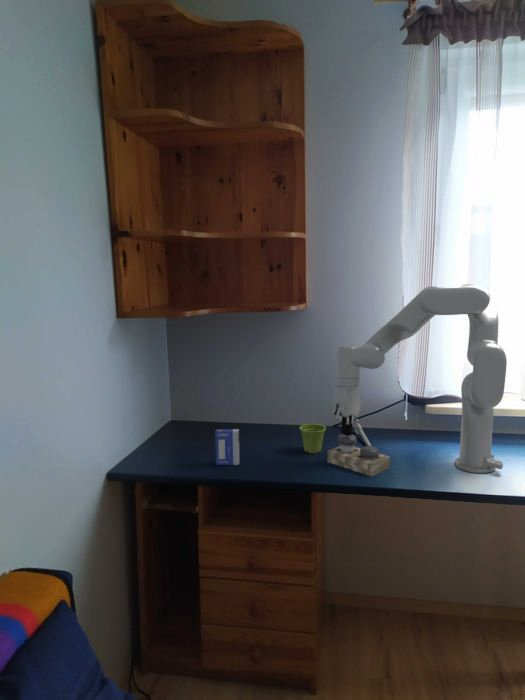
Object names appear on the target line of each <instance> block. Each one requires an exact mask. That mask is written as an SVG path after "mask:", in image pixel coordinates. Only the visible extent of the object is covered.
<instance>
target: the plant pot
mask: <svg viewBox="0 0 525 700" xmlns="http://www.w3.org/2000/svg"><path fill="white" fill-rule="evenodd" d="M299 430H300V432H301V437H302V442H303V450H304V452H307V453H309V454H318V452H319V453H320V452H321V451H322V446H323V439H324V434H325V432H326V430H327V427H326V426H325V425H323V424H319V423H318V424H317V423H306V424H302V425H300V426H299Z"/></svg>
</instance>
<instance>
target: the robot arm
mask: <svg viewBox="0 0 525 700" xmlns="http://www.w3.org/2000/svg"><path fill="white" fill-rule="evenodd" d="M456 315H467V318H468V320H469V322H468V323H469V324H468V325H469V332H468V343H467V345H468V346H467V351H466V352H467V353H466V357H467V358H466V359H467V361H468V362H469V364H470V365H471V366H473V367H472V372H470V373H468V374H467V375H466V376H465V377H464V378H463V380H462V383H461V387H460V388H461V421H460V422H461V423H460V424H461V425H460V438H459V439H460V440H459V441H460V442H459V443H460V444H459V457H456V458H455V459H454V463H453V464H454V466H455V467H456V468H457V469H459V470H462V471H465V472H469V473H474V474H475V473H476V474H488V473H489V474H490V473H492V472H494V471H495V470H496V469H498V470H502V469H503V467H504V464H503V461H501V460H496V459H495V455H494V454H492V442H493V426H494V425H493V423H494V408H495V407H497V406H498V405H499V404H500V403H501V401H502V399H503V397H504V392H505V385H506V378H507V377H506V376H507V363H508V362H507V355H506V352H505V350H504V349H503V348H502V347H501V345H499V344H498V343H499V341H498V340H499V314H498V312H497V307H496V305H495V304H494V302H493V301H492V299H491V296H490V293H489V292H488V290H487V289H486V288H484V286H480V285H475V284H469V283H467V284H462V285H461V286H453V287H452V286H451V287H449V286H448V287H446V286H445V287H443V286H442V287H438V286H430V285H429V286H427V287H425V288H423V289H422V290H421V291H420V292H419V293H418V294H417V295H416V296H415V297H414V298H413V299H412V300H410V302H408V303H407V304H406V305H405V306H404V307H403V308H402V309H401V310H400V311H399V312H397V313H396V315H395V316H393V318H391V319H390V320H389V321H388V322H387V323H385V324H384V326H382V327H381V328H379V330H377V331H376V332H375V333H374V334H373V335H372V336H371V337H370V338H369V339H368V340H367V341H366V342H365V343H364V344H363V345H362V346H359V345H357V344H353V343H352V344H351V343H345V344H340V345H339V346H338V347H337V355H336V357H337V358H336V359H337V360H336V362H337V363H336V365H337V366H336V385H335V387H334V392H333V398H332V415H335V416H336V417H335V420H336V421H339V422H340V424H341V434H343V435H346V436H350V435H353V424H354V423H355V419H356V418H355V417H357V416H358V415H359V413H360V412H361V407H362V406H361V405H362V394H361V386H360V379H361V378H360V377H361V368H364V369H370V370H375V369H379V368H380V367H382V366H383V364H384V363H385V360H386V359H385V358H386V356H385V355H386V354H387V353H388V352H389V351H390V350H391V349H392V348H393V347H394V346H396V345H397V344H399V343H401V342H402V341H405V340H408V339H409V338H411V337H413V336H414V335H415V334H417V333H418V332H419V331H420V330H421V329H422V328H423V327H424V326H425V325H426V324H427V323H428V322H429V321H430V320H431V319H433V317H434V316H456Z"/></svg>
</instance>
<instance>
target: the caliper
mask: <svg viewBox="0 0 525 700" xmlns="http://www.w3.org/2000/svg"><path fill="white" fill-rule="evenodd" d="M355 432H356V433H355ZM354 433H355V435H358V436H360V437H361V438H362V439H363V440H362V441H363V442H364V443H365V445H366V446H371V447H373V446H372V444H371V443H370V441H369V439H368V437H367V435H366V434H365V432H364V430H363V427H362V425H361V424H360V420H359V419H358V418H355V420H354Z"/></svg>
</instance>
